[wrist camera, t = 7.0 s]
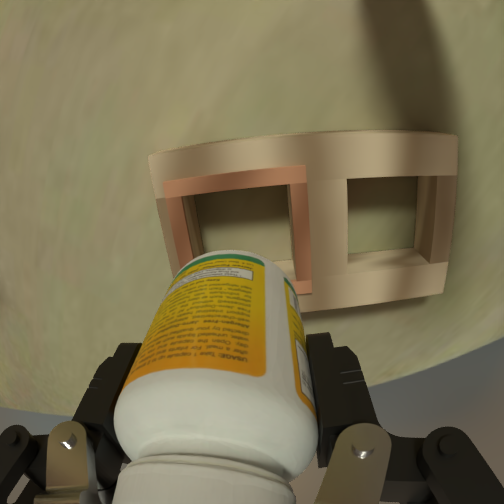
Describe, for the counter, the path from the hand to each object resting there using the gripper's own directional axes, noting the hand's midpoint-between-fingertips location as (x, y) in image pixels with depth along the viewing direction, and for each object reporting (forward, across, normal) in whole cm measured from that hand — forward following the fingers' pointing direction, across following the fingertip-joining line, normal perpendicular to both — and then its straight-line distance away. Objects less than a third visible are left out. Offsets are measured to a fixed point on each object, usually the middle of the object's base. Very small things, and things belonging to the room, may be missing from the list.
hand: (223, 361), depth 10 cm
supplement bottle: (+4, 0, 0) cm, 4 cm away
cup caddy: (+14, -5, 0) cm, 15 cm away
